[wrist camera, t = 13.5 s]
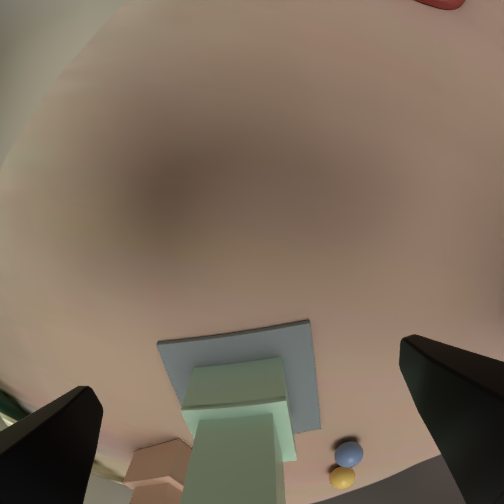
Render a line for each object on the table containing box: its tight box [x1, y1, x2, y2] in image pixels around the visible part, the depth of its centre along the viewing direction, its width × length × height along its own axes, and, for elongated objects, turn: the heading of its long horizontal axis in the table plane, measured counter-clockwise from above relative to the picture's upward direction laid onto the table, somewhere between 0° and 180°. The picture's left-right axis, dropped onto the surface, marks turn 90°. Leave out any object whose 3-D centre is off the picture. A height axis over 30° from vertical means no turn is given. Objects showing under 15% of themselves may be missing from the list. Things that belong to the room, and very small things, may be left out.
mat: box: [157, 320, 321, 433], centre depth 23 cm, size 12×12×1 cm
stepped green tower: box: [180, 357, 297, 504], centre depth 17 cm, size 7×7×12 cm
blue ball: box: [335, 441, 363, 468], centre depth 24 cm, size 3×3×3 cm
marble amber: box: [329, 466, 355, 489], centre depth 25 cm, size 3×3×3 cm
